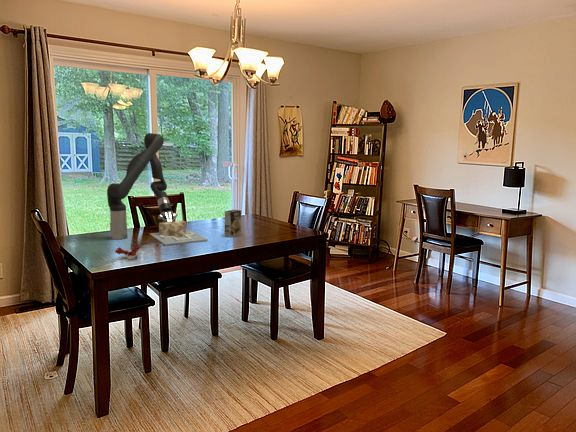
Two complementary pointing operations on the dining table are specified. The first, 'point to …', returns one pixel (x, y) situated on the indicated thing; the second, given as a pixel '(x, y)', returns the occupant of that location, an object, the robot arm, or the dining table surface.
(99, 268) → the dining table surface
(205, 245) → the dining table surface
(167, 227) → the t block
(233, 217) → the coffee box
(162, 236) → the board
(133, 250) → the figurine
